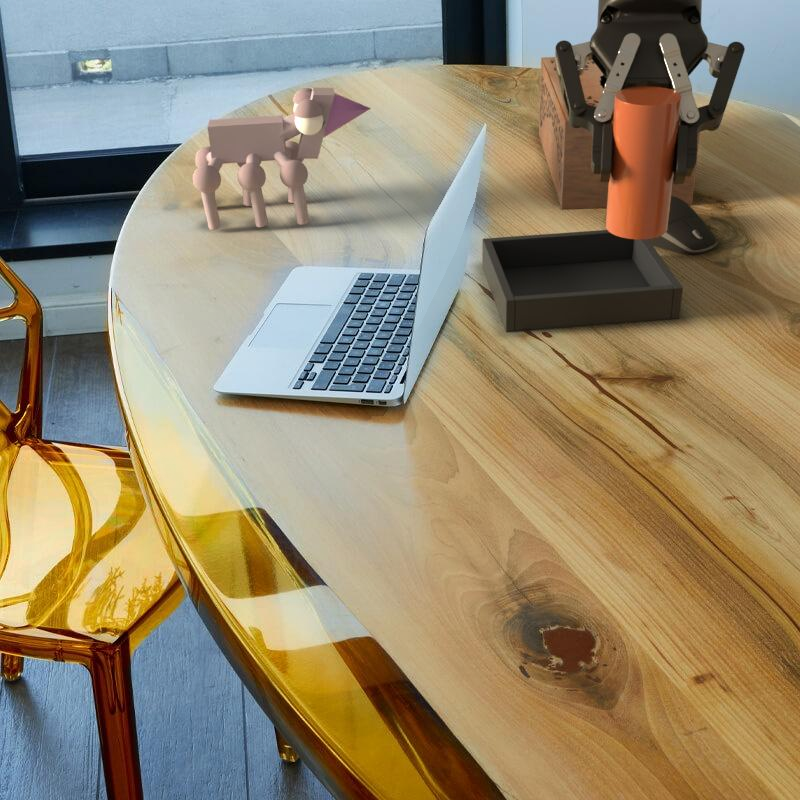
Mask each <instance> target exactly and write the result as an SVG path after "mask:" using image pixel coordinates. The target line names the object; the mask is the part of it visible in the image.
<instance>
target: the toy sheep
mask: <svg viewBox="0 0 800 800" xmlns="http://www.w3.org/2000/svg"><path fill="white" fill-rule="evenodd" d="M292 103H293V113H290V114H289V115H287V116H285V117H284V115H283V114H282V115H281V114H280V115H265V116H249V117H233V118H218V119H217V118H216V119H209V120H208V124H207V134H208V141H209V146H203V147H201V148H199V150H197V152H196V154H195V156H194V163H195V166H196V167H197V168H196V169H195V170H194V171H193V174H192V183H193V186H194V187H195V189H196V190H197V191H199V192H200V196H201V199H202V205H203V209H204V213H205V218H206V221H207V226H208V229H209V230H211V231H215V230H217V229H220V228H221V227H222V223H221V219H220V214H219V211H218V206H217V201H216V191H217V190H218V189H219V188H220V186H221V183H222V177H221V176H222V175H221V173H220V171H221V169H222V167H223V165H224V164H226V165H227V164H236V165H237V166H238V167H239V169H238V171H237V182H238V184H239V185H240V187H241V188H242V204H243V206H246V207H252V212H253V217H254V223H255V227H256V228H265V227H266V226H268V224H269V220H268V215H267V209H266V205H265V199H264V194H263V187H264V185H265V183H266V179H267V176H266V172H265V170H264V168H263V166H261V164H262V162H269V161H271V162H272V161H275V162H276V163H277V165H278V166H279V167H280V170H279V179H280V181H281V183H282V184H283V185H284V186H285V187H287V199H288V200H287V201H288V203H291V204H293V207H294V213H295V218H296V223H297V225H306V224H308V223H309V222H310V217H309V211H308V210H309V209H308V205H307V200H306V192H305V187H304V184H306V182H307V180H308V177H309V172H308V168H307V167H306V165H305V164H304V163H303V162H304V160H307V159H308V160H310V159H311V160H318V159H319V155H320V152H321V147H322V144H323V141H324V138H326V137H327V136H329V135H330V134H332V133H334V132H335V131H337V130H338V129H339V130H340V128H342V127H343V126H345V125H347V124H348V123H350V122H352V121H353V120H355V119H356V118H358V117H360V116H361V115H363V114H365V113H366V112H368V111H370V110H371V109H372V108H371V107H369V106H367V105H364V104H362V103H360V102H357V101H355V100H352V99H349V98H348V97H345V96H342V95H340V94H338V93H335V88H334V87H312V88H310V87H304V88H300V89H299V90H297V91H296V92H295V93H294V95H293V97H292ZM299 135H300V137H299V140H298V142H297V141H293V140H292V139H293V138H295V137H297V136H299Z"/></svg>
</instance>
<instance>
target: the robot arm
mask: <svg viewBox="0 0 800 800" xmlns="http://www.w3.org/2000/svg"><path fill="white" fill-rule="evenodd" d="M702 4H703V0H598V4H597V24H596V29H595V31H594V33H593V34H592V35H591V37H590V40H589V41H586V42H585V41H584V42H581V43H578V44H573V45H572V43H571V42H570V41H569V40H560V41H558V42H557V43H556V45H555V51H554V53H555V54H554V57H555V67H556V71H557V75H558V79H559V84H560V88H561V92H562V96H563V100H564V104H565V108H566V112H567V117H568V121H569V124H570V126H571V127H573V128H580V127H582V128H585V129H587V130H589V131H590V132H591V134H592V156H591V169H592V172H593V174H600V182H610V175H611V159H612V138H613V124H612V123H613V115H614V101H615V94H616V93H617V92H618V91H620V90H622V89H625V88H630V87H638V86H654V87H662V88H667V89H671V90H674V91H676V92H678V93H679V94H680V95H681V107H680V116H679V125H678V135H677V144H676V154H675V163H674V178H673V183H674V184H684V181H685V178H686V176H689V177H691V175H692V173H693V171H694V168H695V165H696V166H697V164H696V162H697V163H698V155H697V134H698V133H699V132H700V133H701V132H703V131H709V132H714V131H717V130H718V129H719V128H720V126H721V123H722V120H723V117H724V114H725V111H726V109H727V106H728V102H729V100H730V96H731V93H732V89H733V88H734V84H735V81H736V78H737V75H738V72H739V69H740V66H741V63H742V60H743V57H744V53H745V50H746V49H745V45H744V44H743V43H742V42H740V41H732V42H730V43H729V44H728V45H727V46H726V45H722V44H718V43H715V42H709V40H708V36H707V35H706V33H705V31H704V30H703V27H702V7H703V5H702ZM589 59H592V60H593V61H594V63H595V64H596V65H597V67H598V68H599V69H600V71H601V72H602V73H603V75H604V76H605V77H606V79H607V81H606V84H605V86H604V90H603V93H602V95H601V98H600V100H599V103H598V105H597V107H595V106H592V105H589V104H586V101H585V97H584V93H583V89H582V85H581V81H580V77H579V76H580V75H582V74H583V73H584V71H585V63H586V62H587V61H588V60H589ZM702 61H706V62H707V64H708V66H709V68H708V72H709V75H710V76H712V77H713V78H715V79H716V81H715V85H714V88H713V90H712V93H711V96H710V100H709V103H708V104H706V105H702V106H700V107H698V106H697V103H696V100H695V97H694V94H693V87H692V83H691V79H690V75H691V74H692V73H693V72H694V71H695V70H696V68H698V67H699V65H700V64H701V63H702Z"/></svg>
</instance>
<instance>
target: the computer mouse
mask: <svg viewBox="0 0 800 800" xmlns="http://www.w3.org/2000/svg"><path fill="white" fill-rule="evenodd" d="M648 240H649V241H650V242H651V244H652V245H653V247H656V248H659V249H661V250H666V251H669V252H672V253H675V254H679V255H684V256H698V255H703V254H706V253H709V252H712V251H714V250H715V249H717V247H718V239H717V238H716V236H715V235H714V233H713V232H712V231H711V229H710V228H709V227H708V225H707V224H706V223H705V222H704V220H703V219H702V218H701V217H700V216H699V215H698V213H697V212H696V211H695V210H694V208H693V207H691V205H688V204H687V203H686V202H684V201H683V200H681V199H679V198H677V197H675V196H671V201H670V210H669V219H668V229H667V231H666V233H664V234H663V235H661V236H659V237H656V238H651V239H648Z"/></svg>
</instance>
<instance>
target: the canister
mask: <svg viewBox="0 0 800 800" xmlns="http://www.w3.org/2000/svg"><path fill="white" fill-rule="evenodd" d="M680 107H681V95H680V94H679V93H678V92H676V91H674V90H671V89H667V88H662V87H654V86H638V87H630V88H625V89H622V90H620V91H618V92H617V93H616V94H615V101H614V115H613V138H612V159H611V175H610V182H609V183H608V197H607V208H606V212H605V213H606V214H605V224H604V225H605V230H608V231H609V232H610V233H612V234H614V235H616V236H619V237H622V238H627V239H640V240H641V239H651V238H656V237H659V236H661V235H663V234H664V233H666V231H667V229H668V219H669V210H670V201H671V191H672V182H673V172H674V163H675V154H676V144H677V135H678V125H679V116H680Z"/></svg>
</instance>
